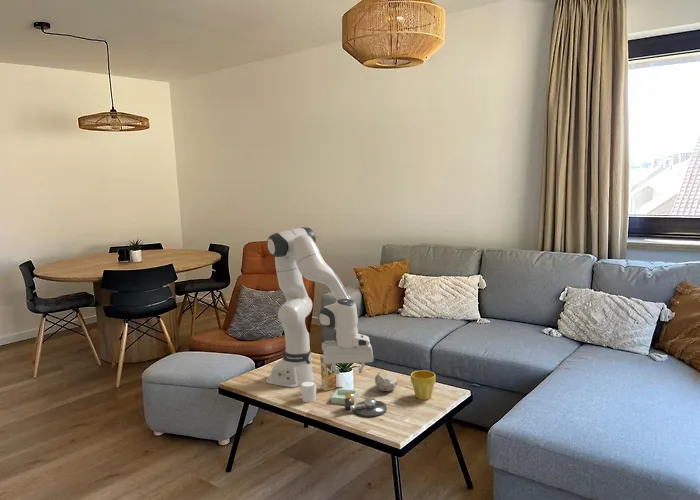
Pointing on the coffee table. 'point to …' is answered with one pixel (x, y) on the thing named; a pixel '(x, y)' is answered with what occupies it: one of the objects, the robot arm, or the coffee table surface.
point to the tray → (342, 395)
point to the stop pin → (351, 396)
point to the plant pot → (423, 383)
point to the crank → (369, 404)
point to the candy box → (327, 376)
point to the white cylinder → (308, 391)
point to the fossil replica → (385, 381)
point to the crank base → (372, 410)
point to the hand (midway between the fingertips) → (348, 373)
